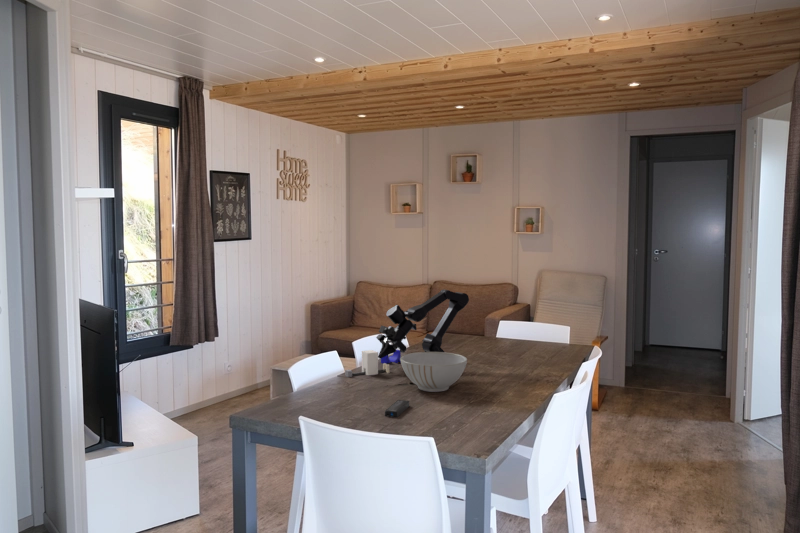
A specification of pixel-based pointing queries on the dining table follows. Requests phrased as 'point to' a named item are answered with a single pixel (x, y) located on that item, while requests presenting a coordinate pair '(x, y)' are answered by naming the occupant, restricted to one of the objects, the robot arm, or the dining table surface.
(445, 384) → the decorative bowl
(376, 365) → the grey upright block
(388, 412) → the multiport hub
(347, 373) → the cord board
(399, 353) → the cable clip
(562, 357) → the dining table surface
